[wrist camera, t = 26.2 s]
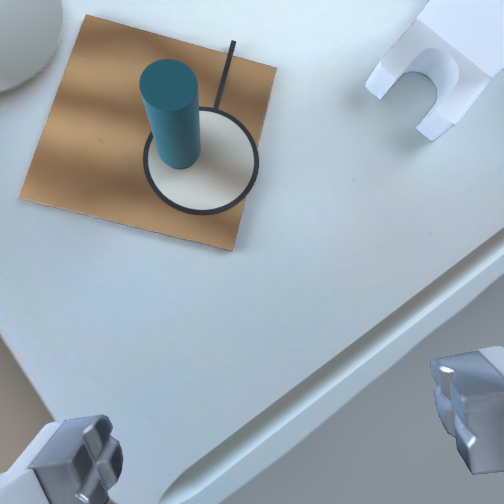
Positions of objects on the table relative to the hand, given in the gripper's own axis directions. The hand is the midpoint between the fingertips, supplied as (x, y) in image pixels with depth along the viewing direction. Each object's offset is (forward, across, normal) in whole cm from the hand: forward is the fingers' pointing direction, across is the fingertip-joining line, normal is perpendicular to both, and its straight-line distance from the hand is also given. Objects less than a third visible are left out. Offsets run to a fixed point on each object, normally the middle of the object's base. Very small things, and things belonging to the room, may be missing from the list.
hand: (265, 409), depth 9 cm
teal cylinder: (+30, +8, -7) cm, 32 cm away
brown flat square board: (+31, +10, -10) cm, 34 cm away
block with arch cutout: (+41, -22, -10) cm, 47 cm away
